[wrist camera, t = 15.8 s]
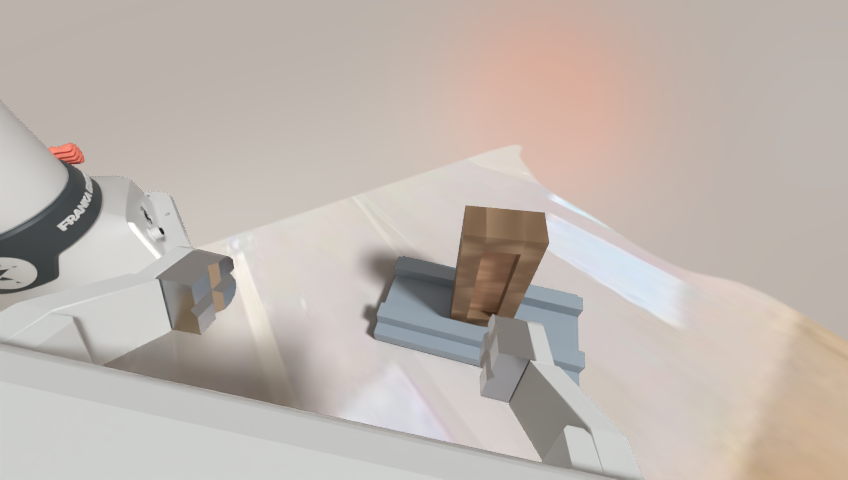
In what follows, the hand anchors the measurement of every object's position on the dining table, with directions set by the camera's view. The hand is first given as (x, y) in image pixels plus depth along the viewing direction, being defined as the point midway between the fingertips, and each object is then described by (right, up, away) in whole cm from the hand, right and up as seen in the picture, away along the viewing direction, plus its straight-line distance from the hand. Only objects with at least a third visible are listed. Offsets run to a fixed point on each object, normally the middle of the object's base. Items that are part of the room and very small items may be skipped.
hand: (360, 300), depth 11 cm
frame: (+8, -6, +26) cm, 27 cm away
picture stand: (+8, -7, +27) cm, 29 cm away
